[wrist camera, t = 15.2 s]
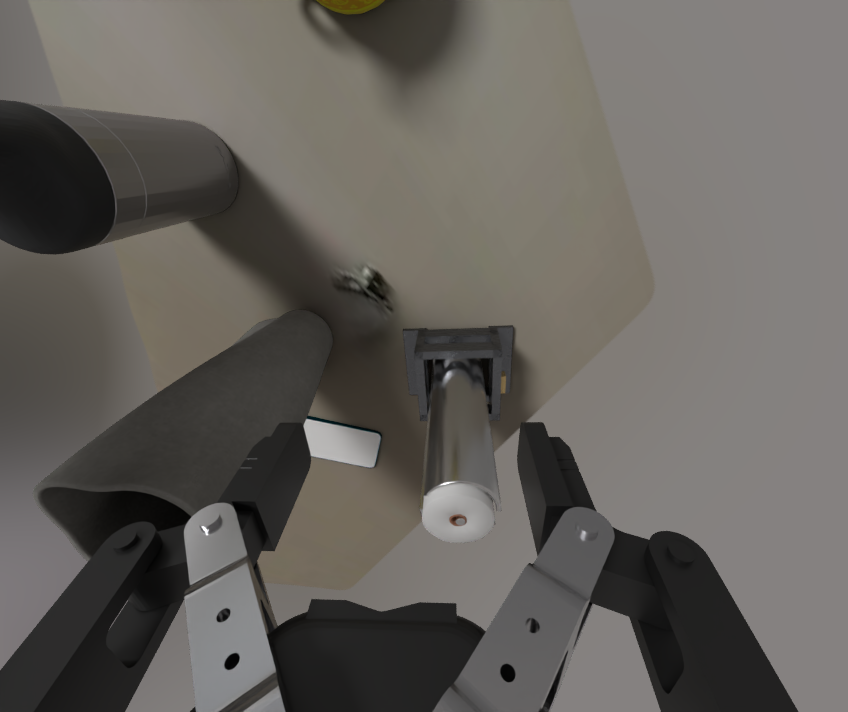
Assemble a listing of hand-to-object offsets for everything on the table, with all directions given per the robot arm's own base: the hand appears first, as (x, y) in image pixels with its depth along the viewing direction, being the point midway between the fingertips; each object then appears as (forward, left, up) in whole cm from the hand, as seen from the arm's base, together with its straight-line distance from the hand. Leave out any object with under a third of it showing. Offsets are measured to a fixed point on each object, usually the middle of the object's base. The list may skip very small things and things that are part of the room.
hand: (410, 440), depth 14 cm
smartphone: (-19, -30, -34) cm, 49 cm away
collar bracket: (+2, -16, -34) cm, 37 cm away
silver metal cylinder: (+2, -16, -34) cm, 37 cm away
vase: (-19, -12, -34) cm, 41 cm away
